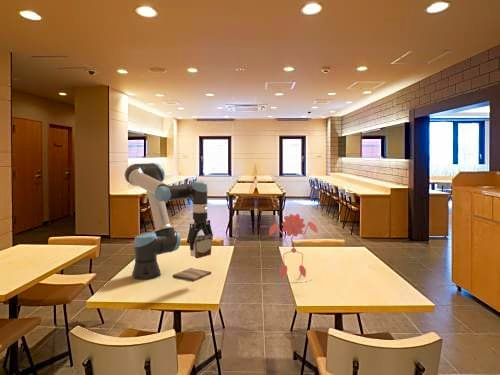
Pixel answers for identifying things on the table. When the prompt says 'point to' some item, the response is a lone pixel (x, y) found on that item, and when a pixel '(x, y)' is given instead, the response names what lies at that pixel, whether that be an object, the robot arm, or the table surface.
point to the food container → (203, 245)
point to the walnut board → (192, 274)
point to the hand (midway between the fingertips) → (200, 253)
